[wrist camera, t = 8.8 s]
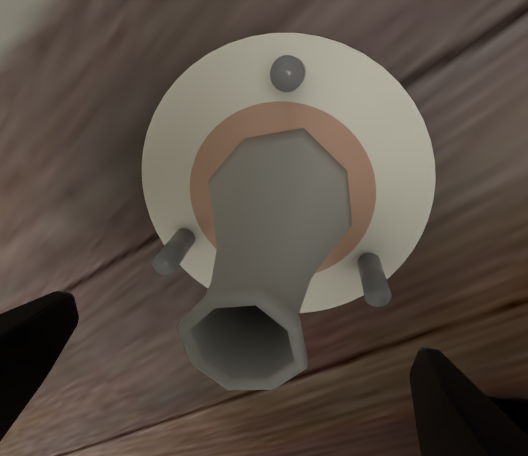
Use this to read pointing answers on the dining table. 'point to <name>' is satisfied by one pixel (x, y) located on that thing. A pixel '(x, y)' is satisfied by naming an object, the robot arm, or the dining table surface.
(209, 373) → the flask
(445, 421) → the robot arm
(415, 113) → the pin cradle
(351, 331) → the dining table surface
